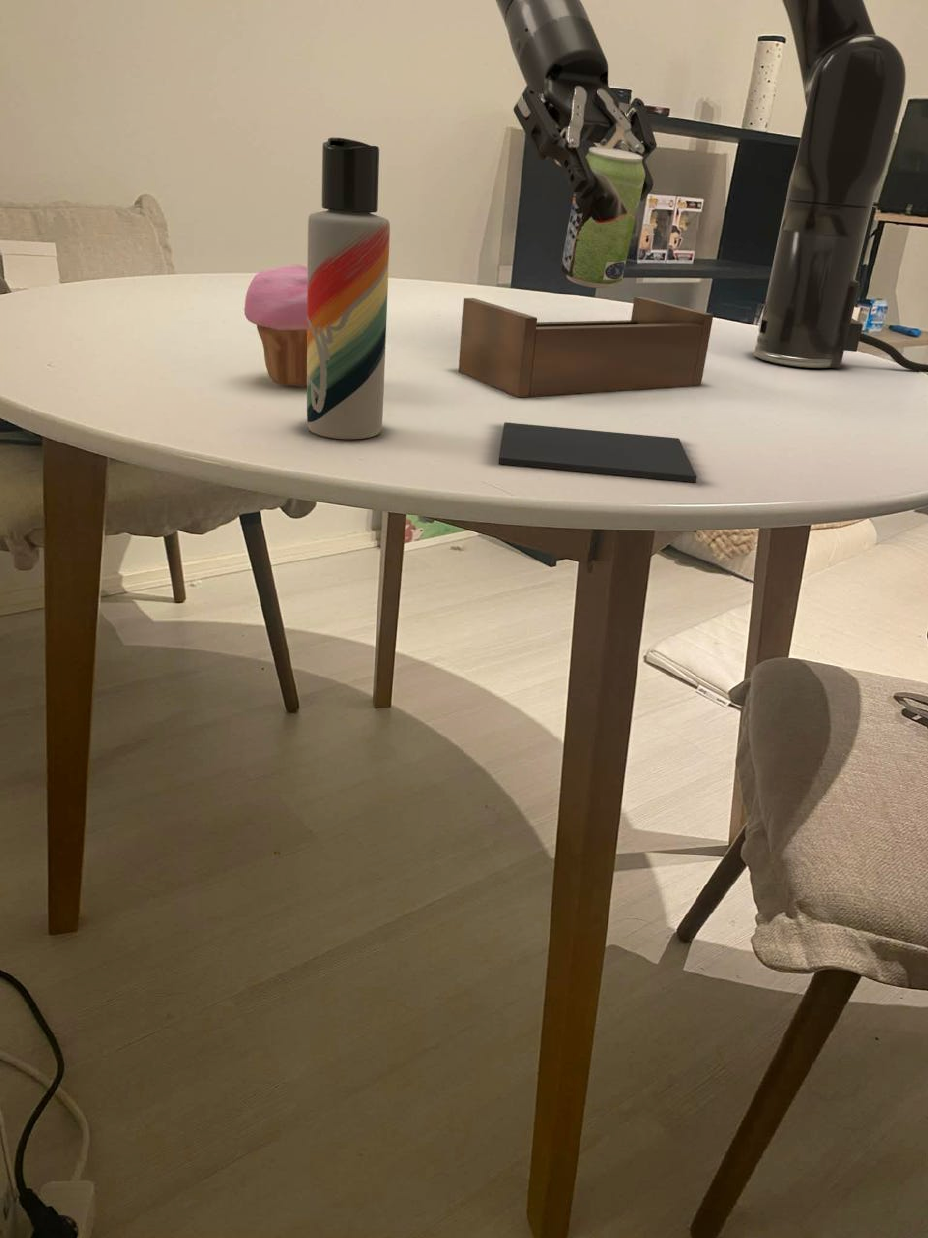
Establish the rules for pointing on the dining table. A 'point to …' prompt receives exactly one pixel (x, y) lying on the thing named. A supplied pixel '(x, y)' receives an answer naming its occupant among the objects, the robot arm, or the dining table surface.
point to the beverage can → (604, 219)
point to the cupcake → (281, 321)
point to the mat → (595, 452)
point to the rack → (584, 349)
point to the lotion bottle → (347, 296)
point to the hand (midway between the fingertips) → (616, 192)
